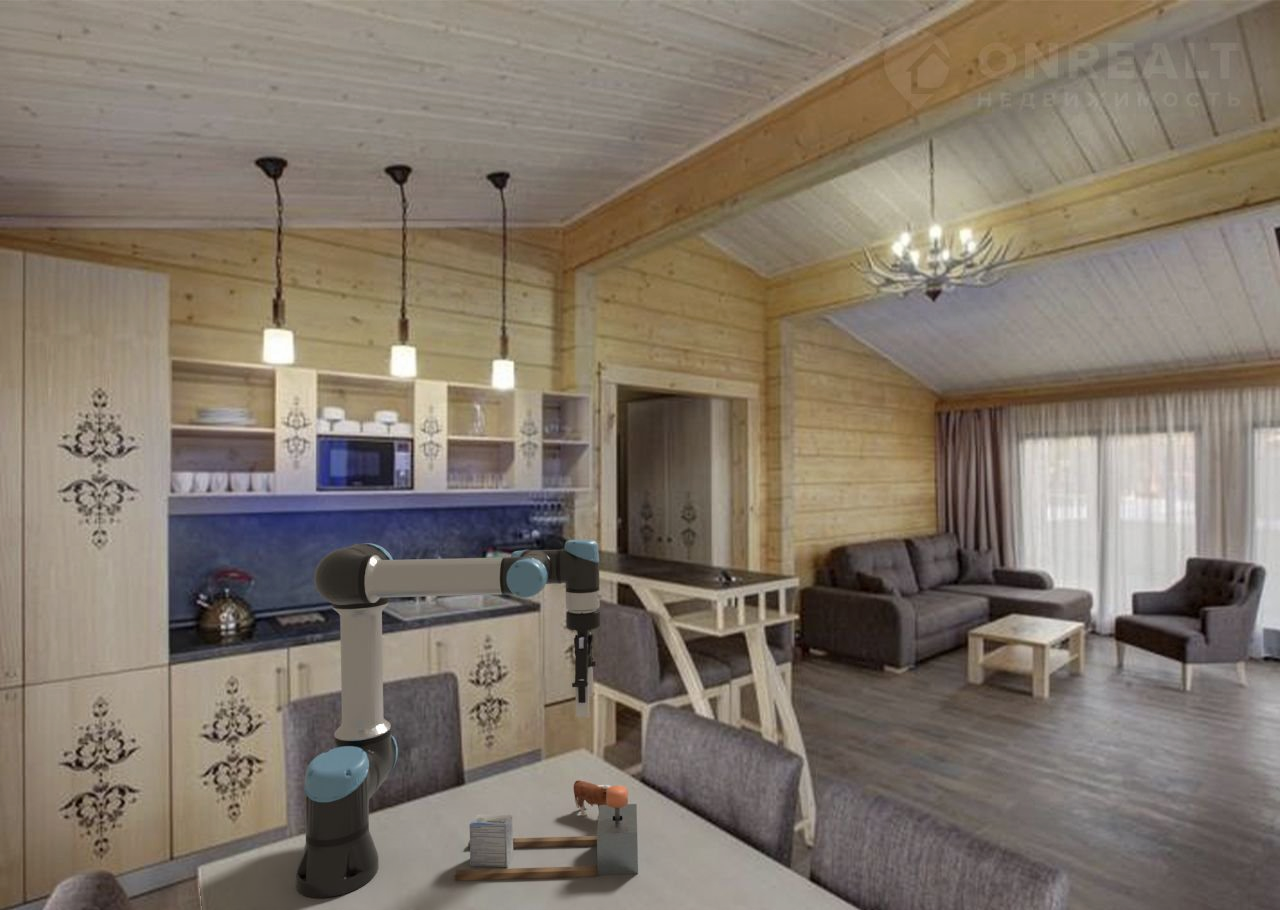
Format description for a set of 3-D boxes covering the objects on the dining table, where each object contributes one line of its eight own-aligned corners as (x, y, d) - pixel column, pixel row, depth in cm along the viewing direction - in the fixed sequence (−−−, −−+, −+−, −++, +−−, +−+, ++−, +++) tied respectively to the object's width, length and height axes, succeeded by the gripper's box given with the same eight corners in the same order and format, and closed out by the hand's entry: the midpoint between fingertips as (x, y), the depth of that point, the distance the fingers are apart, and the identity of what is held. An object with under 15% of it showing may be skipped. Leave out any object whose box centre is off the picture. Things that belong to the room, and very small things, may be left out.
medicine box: (513, 856, 146) (513, 814, 146) (507, 868, 141) (506, 825, 141) (476, 855, 146) (476, 813, 147) (469, 867, 142) (469, 823, 142)
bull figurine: (614, 829, 156) (613, 792, 156) (570, 812, 164) (569, 777, 164) (626, 821, 159) (625, 784, 160) (582, 805, 168) (581, 770, 168)
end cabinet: (597, 874, 138) (596, 833, 138) (600, 842, 150) (599, 805, 150) (638, 873, 138) (637, 832, 139) (637, 841, 150) (636, 803, 151)
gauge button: (606, 827, 142) (605, 795, 142) (607, 817, 147) (606, 785, 147) (628, 827, 142) (627, 794, 142) (628, 816, 147) (627, 785, 147)
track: (454, 880, 137) (454, 874, 137) (469, 845, 150) (469, 839, 150) (597, 876, 138) (597, 870, 138) (600, 841, 151) (600, 835, 151)
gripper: (596, 621, 143) (598, 726, 142) (602, 599, 168) (604, 688, 167) (560, 622, 143) (562, 727, 142) (571, 599, 168) (573, 689, 167)
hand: (584, 706), depth 155 cm, fingers open, 13 cm apart
